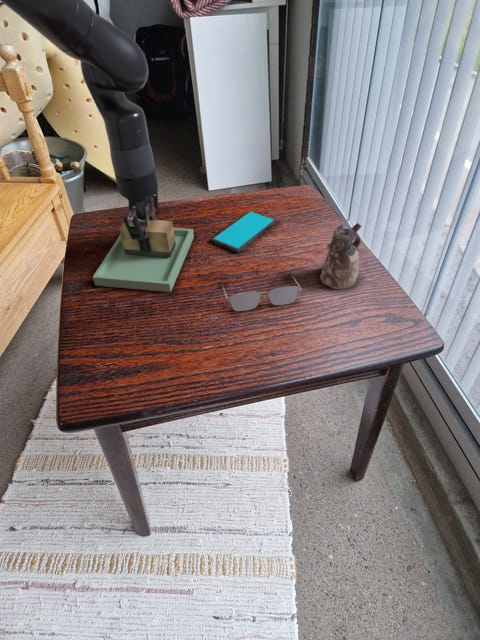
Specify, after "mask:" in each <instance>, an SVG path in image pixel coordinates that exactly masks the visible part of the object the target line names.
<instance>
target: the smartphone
mask: <svg viewBox="0 0 480 640" xmlns="http://www.w3.org/2000/svg"><path fill="white" fill-rule="evenodd" d="M274 224H276V219H274V218H272V217H271V216H270V217H269V216H268V215H264V214H261V213H258V212H256V211H253V210H249V211H247V212H246V213H244V214H243V216H240V218H238V219H237V220H235V221H234V222H233V223H231V224H230V225H229V226H227V227H226V228H225V229H223V230H222V231H220V232H219V233H218V234H217V235H215V236H213V238H211V242H212V243H213V244H215V245H218V246H220V247H223V248H225V249H227V250H230V251H233V252H235V253H240V252H241V251H242V250H243V249H245V248H247V246H249V245H250V244H251V243H252V242H253V241H254V240H256V239H257V238H258V237H259V236H261V235H262V234H263V233H264V232H266V231H267V230H268V229H270V228H271V227H272V226H274Z"/></svg>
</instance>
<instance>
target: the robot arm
mask: <svg viewBox="0 0 480 640" xmlns="http://www.w3.org/2000/svg"><path fill="white" fill-rule="evenodd" d="M0 2H1V3H2V4H3V5H5V6H6V7H7V8H9V9H10V10H11V11H13V12H14V13H15V14H16V15H18V16H19V17H20V18H21V19H23V21H25V22H26V23H27V24H28V25H29V26H31V27H32V28H34V29H35V30H36V32H37V33H39V34H40V35H42V36H43V37H44V38H45V39H46V40H48V41H49V43H51V44H53V45H54V46H55V47H56V48H57V49H58V50H60V51H61V52H62V53H64V55H66V56H67V57H70V58H72V59H73V60H77V61H80V70H81V74H82V77H83V80H84V83H85V85H86V87H87V89H88V93H90V96H91V98H92V100H93V102H94V105H95V106H96V109H97V110H98V112H99V114H100V116H101V118H102V120H103V122H104V128H105V131H106V137H107V140H108V145H109V150H110V151H109V153H110V159H111V160H110V161H111V165H112V169H113V173H114V177H115V182H116V186H117V189H118V193H119V195H121V196H122V197H123V198H125V199H126V200H127V201H128V211H129V214H128V216H127V215H124V216H123V223H125V225H126V227H127V230H128V232H129V235H130V237H131V239H132V240H138V244H139V248H140V251H141V252H146V253H149V252H150V251H151V246H150V241H149V236H148V226H149V225H150V220H158V218H157V216H159V214H160V208H159V207H160V206H159V193H158V191H159V190H158V189H159V184H158V178H157V177H158V176H157V171H156V165H155V159H154V153H153V149H152V146H151V142H150V137H149V131H148V124H147V119H146V114H145V112H144V110H143V108H142V107H141V106H139V105H138V104H136V103H134V102H132V101H131V100H130V99H128V97H127V96H126V95H125V93H126V94H133V93H134V94H135V93H136V92H139V91H140V90H143V88H144V87H145V85H146V83H147V82H148V78H149V65H148V64H149V63H148V60H147V58H146V55H145V53H144V52H143V50H142V48H141V47H140V46H139V44H138V43H137V42H136V41H135V40H134V39H133V38H132V37H130V36H129V35H128V34H127V33H125V32H124V31H123V30H121V29H120V28H118V26H116V25H114V24H113V23H111V22H110V21H108V20H107V19H105V18H104V17H103V16H100V15H99V14H98V13H97V12H95V11H94V10H93V9H92V7H91V6H90V5H89V4H88V3H87V2H86V1H85V0H0ZM140 220H145V222H142V221H140ZM142 227H143V230H144V232H143V230H142Z"/></svg>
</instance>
